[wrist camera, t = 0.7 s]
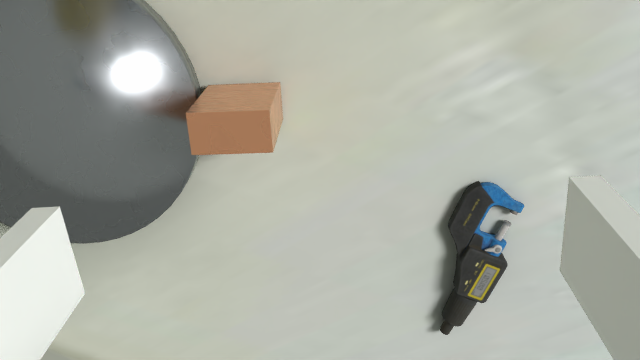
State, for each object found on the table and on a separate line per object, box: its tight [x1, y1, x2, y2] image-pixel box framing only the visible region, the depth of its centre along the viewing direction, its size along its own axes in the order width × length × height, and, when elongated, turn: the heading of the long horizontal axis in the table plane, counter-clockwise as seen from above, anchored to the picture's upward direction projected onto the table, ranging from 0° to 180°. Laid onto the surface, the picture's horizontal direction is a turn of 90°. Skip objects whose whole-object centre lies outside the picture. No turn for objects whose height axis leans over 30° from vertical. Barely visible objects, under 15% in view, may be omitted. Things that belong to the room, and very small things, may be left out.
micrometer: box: [440, 181, 524, 335], centre depth 42 cm, size 12×2×5 cm
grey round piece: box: [0, 0, 283, 243], centre depth 35 cm, size 18×23×6 cm
